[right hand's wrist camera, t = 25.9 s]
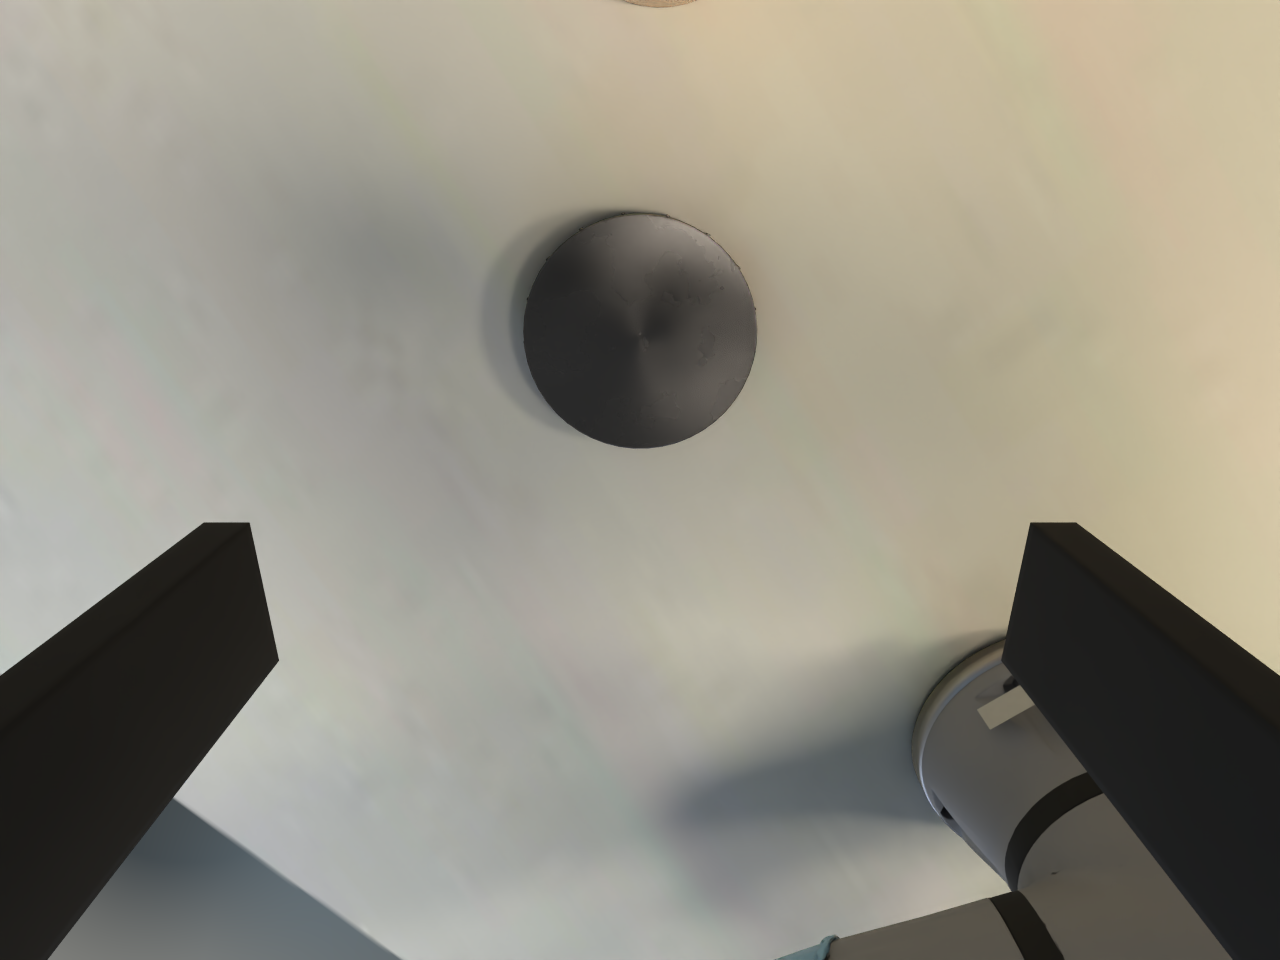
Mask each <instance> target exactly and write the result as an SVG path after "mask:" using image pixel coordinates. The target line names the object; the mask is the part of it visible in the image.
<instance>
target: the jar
mask: <svg viewBox="0 0 1280 960" xmlns="http://www.w3.org/2000/svg"><path fill="white" fill-rule="evenodd" d="M624 1H626V2H630V3H634V4H637V5H641V6H650V7H673V6H678V5H683V4H688V3H691V2H694V1H697V0H624Z"/></svg>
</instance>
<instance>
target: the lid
mask: <svg viewBox="0 0 1280 960" xmlns="http://www.w3.org/2000/svg"><path fill="white" fill-rule="evenodd" d="M579 230H580V231H579V232H578V233H576V234H575V235H573V236H572V237H570V238H569V239H568V240H567V241H566V242H564V243H563V244H562V245H561V246H560V247H559V248H558V249H557V250H556V251H555V252H554V253H553V254H552V255H551V257H548V258H547V259H546V260H547V262H546V263H545V265H544V266H543V268H542V269H541V270H540V272H539V274H538V276H537V278H536V280H535V282H534V284H533V286H532V289H531V292H530V295H529V297H528V298H527V300H528V301H527V306H526V311H525V316H524V330H523V332H524V347H525V352H526V357H527V362H528V365H529V368H530V371H531V374H532V377H533V379H534V381H535V383H536V385H537V387H538V389H539V391H540V392H541V394H542V395H543V397H544V398H545V400H546V401H547V403H548V404H549V405H550V406H551V407H552V408H553V410H554V411H555V412H556V413H557V414H558V415H559V416H560V417H561V418H562V419H563V420H565V421H566V422H567V423H568V424H569V425H571V426H572V427H574V428H575V429H577V430H578V431H579V432H581V433H583V434H585V435H587V436H589V437H591V438H593V439H595V440H598V441H601V442H603V443H606V444H610V445H614V446H618V447H625V448H655V447H663V446H666V445H670V444H674V443H677V442H680V441H683V440H685V439H688V438H690V437H692V436H694V435H695V434H697V433H699V432H701V431H703V430H704V429H706V428H707V427H708V426H710V425H711V424H712V423H714V422H715V421H716V420H717V419H718V418H719V417H720V416H721V415H722V414H724V413H725V412H726V410H727V409H728V408H729V407H730V406H731V404H732V403H733V402H734V401H735V399H736V398H737V396H738V395H739V393H740V391H741V390H742V388H743V386H744V384H745V382H746V380H747V378H748V376H749V373H750V370H751V367H752V364H753V360H754V355H755V352H756V351H755V350H756V343H757V321H756V312H755V310H756V308H755V307H754V303H753V299H752V296H751V293H750V290H749V287H748V285H747V283H746V281H745V279H744V277H743V275H742V273H741V271H740V267H739V266H738V265H736V264H735V262H734V261H733V259H732V258H731V257H730V256H729V255H728V254H727V252H726V251H725V250H724V249H723V248H722V247H721V246H720V245H719V244H718V243H716V242H715V241H714V240H713V239H711V238H710V235H709V234H708V233H706V234H704V233H703V232H701V231H700V230H698V229H696V228H695V227H693V226H691V225H689V224H687V223H684V222H682V221H680V220H677V219H674V218H670V217H669V215H666V216H663V215H655V214H648V213H638V214H625V213H622V215H619V216H614V217H611V218H607V219H604V220H601V221H599V222H596V223H594V224H592V225H590V226H588V227H586V228H584V229H583V227H582V228H580V229H579Z"/></svg>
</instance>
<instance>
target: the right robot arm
mask: <svg viewBox="0 0 1280 960" xmlns="http://www.w3.org/2000/svg"><path fill="white" fill-rule="evenodd" d="M278 661H279V658H278V654H277V649H276V644H275V639H274V635H273V630H272V625H271V621H270V616H269V611H268V607H267V602H266V597H265V593H264V588H263V583H262V579H261V574H260V569H259V565H258V560H257V555H256V550H255V546H254V541H253V536H252V532H251V527H250V523H203V524H201V525H200V526H199V527H197V528H196V529H195V530H193V531H192V532H191V533H189V534H188V535H187V536H185V537H184V538H183V539H181V540H180V541H179V542H177V543H176V544H175V545H174V546H172V547H171V548H170V549H168V550H167V551H166V552H164V553H163V554H162V555H160V556H159V557H158V558H156V559H155V560H154V561H152V562H151V563H150V564H148V565H147V566H146V567H144V568H143V569H142V570H140V571H139V572H138V573H136V574H135V575H134V576H132V577H131V578H130V579H128V580H127V581H126V582H124V583H123V584H122V585H120V586H119V587H118V588H116V589H115V590H114V591H112V592H111V593H110V594H108V595H107V596H106V597H104V598H103V599H102V600H100V601H99V602H98V603H96V604H95V605H94V606H92V607H91V608H90V609H88V610H87V611H86V612H84V613H83V614H82V615H80V616H79V617H78V618H76V619H75V620H74V621H72V622H71V623H70V624H69V625H67V626H66V627H65V628H63V629H62V630H61V631H59V632H58V633H57V634H55V635H54V636H53V637H51V638H50V639H49V640H47V641H46V642H45V643H43V644H42V645H41V646H39V647H38V648H37V649H35V650H34V651H33V652H31V653H30V654H29V655H27V656H26V657H25V658H23V659H22V660H21V661H19V662H18V663H17V664H15V665H14V666H13V667H11V668H10V669H9V670H7V671H6V672H5V673H3V674H2V675H1V676H0V960H48V958H49V957H50V956H51V954H52V953H53V952H54V951H55V949H56V948H57V947H58V945H59V944H60V943H61V941H62V940H63V939H64V938H65V936H66V935H67V934H68V932H69V931H70V930H71V929H72V927H73V926H74V925H75V923H76V922H77V921H78V919H79V918H80V917H81V916H82V914H83V913H84V912H85V910H86V909H87V908H88V907H89V905H90V904H91V903H92V901H93V900H94V899H95V898H96V896H97V895H98V894H99V892H100V891H101V890H102V889H103V887H104V886H105V885H106V883H107V882H108V881H109V879H110V878H111V877H112V876H113V874H114V873H115V872H116V870H117V869H118V868H119V867H120V865H121V864H122V863H123V861H124V860H125V859H126V858H127V856H128V855H129V854H130V852H131V851H132V850H133V849H134V847H135V846H136V845H137V843H138V842H139V841H140V839H141V838H142V837H143V836H144V834H145V833H146V832H147V830H148V829H149V828H150V827H151V825H152V824H153V823H154V821H155V820H156V819H157V818H158V816H159V815H160V814H161V812H162V811H163V810H164V808H165V807H166V806H167V805H168V803H169V802H170V801H171V799H172V798H173V797H174V796H175V794H176V793H177V792H178V790H179V789H180V788H181V787H182V785H183V784H184V783H185V781H186V780H187V779H188V777H189V776H190V775H191V774H192V772H193V771H194V770H195V768H196V767H197V766H198V765H199V763H200V762H201V761H202V759H203V758H204V757H205V756H206V754H207V753H208V752H209V750H210V749H211V748H212V747H213V745H214V744H215V743H216V741H217V740H218V739H219V737H220V736H221V735H222V734H223V732H224V731H225V730H226V728H227V727H228V726H229V725H230V723H231V722H232V721H233V719H234V718H235V717H236V716H237V714H238V713H239V712H240V710H241V709H242V708H243V706H244V705H245V704H246V703H247V701H248V700H249V699H250V697H251V696H252V695H253V694H254V692H255V691H256V690H257V688H258V687H259V686H260V685H261V683H262V682H263V681H264V679H265V678H266V677H267V675H268V674H269V673H270V672H271V670H272V669H273V668H274V666H275V665H276V664H277V663H278ZM912 759H913V764H914V769H915V772H916V774H917V777H918V779H919V781H920V784H921V786H922V788H923V790H924V792H925V794H926V796H927V798H928V800H929V802H930V804H931V805H932V807H933V808H934V810H935V811H936V812H937V814H938V815H939V816H940V817H941V818H942V819H943V821H944V822H945V823H946V824H947V825H948V826H949V827H950V828H951V829H952V830H953V831H954V832H955V833H956V834H958V835H959V836H960V837H962V838H963V839H964V841H965V842H966V843H967V844H968V845H969V846H970V847H971V848H972V849H973V850H974V851H975V852H976V853H977V854H978V855H979V856H980V857H981V858H982V859H983V860H984V861H985V862H986V863H987V864H988V865H989V866H990V867H991V868H992V869H993V870H994V871H995V872H996V873H997V874H998V875H999V876H1000V877H1001V878H1002V879H1003V880H1004V881H1005V882H1006V883H1007V884H1008V886H1009V888H1010V890H1011V892H1009V893H1006V894H1002V895H999V896H995V897H992V898H985V899H982V900H978V901H975V902H971V903H968V904H965V905H961V906H958V907H954V908H951V909H947V910H944V911H941V912H937V913H934V914H930V915H927V916H923V917H919V918H916V919H912V920H908V921H904V922H901V923H897V924H893V925H889V926H886V927H882V928H878V929H874V930H871V931H867V932H863V933H859V934H856V935H852V936H848V937H844V938H841V939H840V938H839V937H837V936H836V935H832V936H828V937H825V938H824V939H823V940H822V941H821V943H820V944H818V945H816V946H813V947H810V948H807V949H804V950H801V951H798V952H795V953H792V954H790V955H787V956H784V957H781V958H778V959H775V960H1280V676H1279V675H1278V674H1277V673H1275V672H1274V671H1273V670H1271V669H1270V668H1269V667H1267V666H1266V665H1265V664H1263V663H1262V662H1261V661H1259V660H1258V659H1257V658H1255V657H1254V656H1253V655H1251V654H1250V653H1249V652H1247V651H1246V650H1245V649H1243V648H1242V647H1241V646H1239V645H1238V644H1237V643H1235V642H1234V641H1233V640H1231V639H1230V638H1229V637H1227V636H1226V635H1225V634H1223V633H1222V632H1221V631H1219V630H1218V629H1217V628H1215V627H1214V626H1213V625H1211V624H1210V623H1209V622H1208V621H1206V620H1205V619H1204V618H1202V617H1201V616H1200V615H1198V614H1197V613H1196V612H1194V611H1193V610H1192V609H1190V608H1189V607H1188V606H1186V605H1185V604H1184V603H1182V602H1181V601H1180V600H1178V599H1177V598H1176V597H1174V596H1173V595H1172V594H1170V593H1169V592H1168V591H1166V590H1165V589H1164V588H1162V587H1161V586H1160V585H1158V584H1157V583H1156V582H1154V581H1153V580H1152V579H1150V578H1149V577H1148V576H1146V575H1145V574H1144V573H1142V572H1141V571H1140V570H1138V569H1137V568H1136V567H1134V566H1133V565H1132V564H1130V563H1129V562H1128V561H1126V560H1125V559H1124V558H1122V557H1121V556H1120V555H1118V554H1117V553H1116V552H1114V551H1113V550H1112V549H1110V548H1109V547H1108V546H1106V545H1105V544H1104V543H1103V542H1101V541H1100V540H1099V539H1097V538H1096V537H1095V536H1093V535H1092V534H1091V533H1089V532H1088V531H1087V530H1085V529H1084V528H1083V527H1081V526H1080V525H1079V524H1077V523H1030V527H1029V532H1028V536H1027V541H1026V546H1025V550H1024V555H1023V560H1022V564H1021V569H1020V574H1019V579H1018V583H1017V588H1016V593H1015V597H1014V602H1013V607H1012V611H1011V616H1010V621H1009V625H1008V630H1007V635H1006V639H1005V640H1002V641H999V642H997V643H995V644H993V645H990V646H988V647H986V648H984V649H982V650H981V651H979V652H977V653H975V654H974V655H972V656H971V657H969V658H967V659H966V660H965V661H963V662H962V663H961V664H959V665H958V666H957V667H955V668H954V669H953V670H952V671H951V672H950V673H949V674H947V675H946V676H945V677H944V679H943V680H942V681H941V682H940V683H939V684H938V685H937V686H936V688H935V689H934V690H933V691H932V693H931V694H930V695H929V697H928V699H927V700H926V702H925V703H924V705H923V707H922V709H921V711H920V713H919V716H918V718H917V721H916V724H915V728H914V731H913V738H912Z"/></svg>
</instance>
